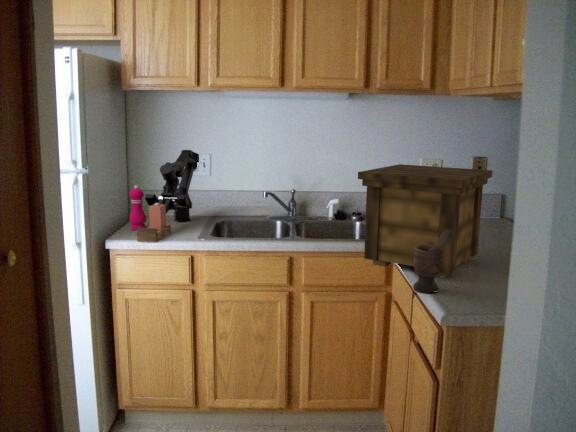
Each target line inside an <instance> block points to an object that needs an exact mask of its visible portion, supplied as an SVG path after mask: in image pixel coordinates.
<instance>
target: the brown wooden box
mask: <svg viewBox="0 0 576 432" xmlns="http://www.w3.org/2000/svg"><path fill="white" fill-rule="evenodd" d="M171 234H172V225H171V224H168V225H166V227H164V228H163V229H161V230H157V228H150V225H149V226H147V227H145V228H137V230H136V239H137V242H139V243H143V242H144V243H158V242H159V241H161V240H162V239H164V238H165V237H167V236H168V235H171Z"/></svg>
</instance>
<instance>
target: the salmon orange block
mask: <svg viewBox="0 0 576 432" xmlns="http://www.w3.org/2000/svg"><path fill="white" fill-rule="evenodd" d="M148 217H149V218H148V219H149V220H148V221H149V226H150V228H157V230H161V229H163V228H164V227H166V226H167V213H166V205H162V204H160V203H155V204H154V205H152V206H149V205H148Z"/></svg>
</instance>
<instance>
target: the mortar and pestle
mask: <svg viewBox="0 0 576 432" xmlns="http://www.w3.org/2000/svg"><path fill="white" fill-rule="evenodd" d="M453 234H454V232H453V231H452V230H450V229H446V230H445V231H444V232H443V233H442V234H441V236H440V238H439V239H438V241H437V243H436V244H435V245H428V244H422V245H416V246H415V247H414V259H413V263H414V266H413V268H414V269H413V270H414V273H415V274H416V275H417V276H418V279H417V281H416V282H415V283H414V284H413V286H412V287H413V290H414V291H415V292H419V293H422V294H423V293H424V294H426V293H427V294H431V293H430V292H434V291H437V290H438V291H439V285H438V283H436V282H435V278H437V276H438V275H439V273H440V270H441V268H442V263H443V254H444V249H443V248H442V247H443V246H444V245H445V244H446V243H447V242H448V241H449V240H450V239H451V238H452V236H453Z"/></svg>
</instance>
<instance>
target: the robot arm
mask: <svg viewBox="0 0 576 432" xmlns="http://www.w3.org/2000/svg"><path fill="white" fill-rule="evenodd" d="M199 155H200V154H199V153H197V152H194V151H193V150H192V149H182V150H181V151H180V154H179V156H178V157H177V159H176V160H175V161H174V162H172V163H171V162H168V161H167V162H165V164H163V165H161V166H160V167H159V172H160V174H161V176H162V178H163V180H164V181H165V184H164V185H163V186H162V189H163V191H162V192H161V193H160V196H159V195H158V196H157V195H156V194H155V193H147V194H146V195H145V196H144V200H145V201H146V203H147V205H148V207H149V206H152V205H154V204H155V203H160V204H162V205H166V214H167V213H169V211H174V212H173V218H174V219H173V220H174V221H175V222H178V223H181V222H191V221H192V219H190V215H191V214H190V209H193V202H192V200H191V197H190V194H189V189H190V186H191V182H192V179H193V175H194V171H195V170H197V169H196V167H197V162H199ZM179 178H181V179H179Z"/></svg>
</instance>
